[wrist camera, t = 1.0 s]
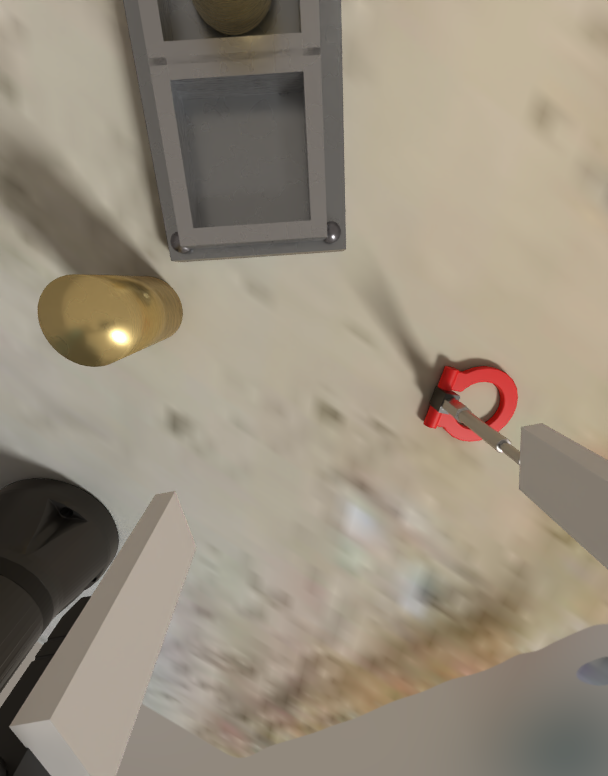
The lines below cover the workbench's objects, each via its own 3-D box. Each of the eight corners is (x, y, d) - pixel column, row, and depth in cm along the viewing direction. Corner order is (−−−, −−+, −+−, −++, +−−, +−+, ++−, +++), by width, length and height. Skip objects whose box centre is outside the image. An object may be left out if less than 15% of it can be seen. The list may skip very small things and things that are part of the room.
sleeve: (127, 342, 31) (54, 369, 22) (111, 278, 30) (24, 277, 20) (187, 338, 31) (141, 363, 22) (176, 274, 30) (119, 271, 20)
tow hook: (523, 373, 34) (444, 356, 33) (658, 428, 22) (541, 404, 21) (491, 442, 37) (417, 428, 35) (596, 524, 25) (488, 508, 23)
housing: (179, 262, 29) (105, 250, 18) (111, -120, 22) (-95, -568, 10) (342, 251, 29) (372, 232, 18) (333, -134, 22) (376, -596, 10)
